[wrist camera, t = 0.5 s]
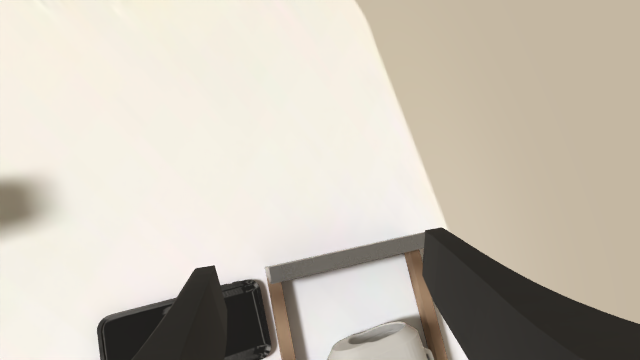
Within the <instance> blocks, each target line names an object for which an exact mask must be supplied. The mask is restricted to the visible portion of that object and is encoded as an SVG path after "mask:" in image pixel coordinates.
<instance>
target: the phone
mask: <svg viewBox="0 0 640 360" xmlns="http://www.w3.org/2000/svg"><path fill="white" fill-rule="evenodd" d="M221 290H222V293H223V297H224V301H225V304H226V308H227V343H226V351H225V358H224V360H261V359H263V358H265V357H266V356H267V355H268V354H269V352H270V350H271V341H270V336H269V331H268V326H267V321H266V316H265V311H264V306H263V301H262V296H261V291H260V287H259V285H258V284H257V283H256V282H255V281H253V280H244V281H240V282H238V281H237V282H233V283H232V284H228V285H227V284H224V285H221ZM175 300H176V298H174V299H170V300H166V301H162V302H158V303H154V304H150V305H146V306H142V307H138V308H135V309H131V310H127V311H123V312H119V313H115V314H111V315H109V316H106V317H105V318H103V319H102V320H101V321H100V323H99V325H98V327H97V334H98V343H99V351H100V359H101V360H132V359H133V357H134V356H135V355H136V354H137V352H138V351H139V350H140V349H141V347H142V346H143V345H144V343H145V342H146V341H147V339H148V338H149V337H150V335H151V334H152V333H153V331H154V330H155V329H156V327H157V326H158V325H159V323H160V322H161V320H162V319H163V318H164V316H165V315H166V313H167V312H168V310H169V309H170V307H171V306H172V304H173V303H174V301H175Z"/></svg>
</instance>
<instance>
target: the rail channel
mask: <svg viewBox="0 0 640 360" xmlns="http://www.w3.org/2000/svg"><path fill="white" fill-rule="evenodd" d="M424 241H425V232H424V233H418V234H413V235H408V236H403V237H399V238H394V239H390V240H385V241H381V242H376V243H372V244H367V245H363V246H358V247H354V248H349V249H345V250H341V251H336V252H332V253H327V254H323V255H318V256H314V257H309V258H305V259H300V260H296V261H291V262H287V263H282V264H278V265H273V266H269V267H265V270H266V276H267V281H268V287H269V292H270V298H271V304H272V309H273V315H274V320H275V326H276V331H277V337H278V342H279V348H280V353H281V359H282V360H296V359H295V354H294V348H293V343H292V338H291V332H290V327H289V322H288V316H287V311H286V306H285V300H284V295H283V290H282V284H281V282H283V281H287V280H292V279H296V278H300V277H304V276H308V275H313V274H317V273H321V272H325V271H330V270H334V269H338V268H342V267H346V266H351V265H355V264H359V263H363V262H367V261H372V260H376V259H380V258H384V257H388V256H393V255H397V254H401V253H404V255H405V259H406V263H407V267H408V271H409V274H410V278H411V282H412V286H413V290H414V294H415V298H416V302H417V306H418V310H419V314H420V318H421V322H422V326H423V330H424V334H425V338H426V342H427V346H428V349H430V350H431V352H432V355H433V357H434V360H448V359H447V355H446V351H445V347H444V343H443V339H442V335H441V332H440V328H439V324H438V320H437V316H436V312H435V309H434V305H433V301H432V297H431V295H430V292H429V290H428V288H427V286H426V283H425V281H424V278H423V276H422V270H423V263H422V259H421V255H420V251H419V249H422V248H424Z"/></svg>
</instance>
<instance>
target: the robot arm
mask: <svg viewBox="0 0 640 360" xmlns="http://www.w3.org/2000/svg"><path fill="white" fill-rule="evenodd" d="M422 276H423V278H424V281H425V283H426V286H427V288H428V290H429V292H430V295H431V297H432V299H433V301H434V303H435V305H436V306H437V308H438V310H439V311H440V313H441V315H442V316H443V318H444V320H445V321H446V323H447V325H448V326H449V328H450V330H451V331H452V333H453V335H454V336H455V338H456V339H457V341H458V343H459V344H460V346H461V348H462V349H463V351H464V353H465V354H466V356H467V358H468V359H469V360H640V324H638V323H634V322H631V321H628V320H625V319H622V318H619V317H616V316H614V315H611V314H608V313H605V312H602V311H600V310H597V309H595V308H592V307H589V306H587V305H584V304H582V303H579V302H577V301H574V300H572V299H570V298H567V297H565V296H563V295H561V294H558V293H556V292H554V291H552V290H550V289H548V288H545V287H543V286H541V285H539V284H537V283H535V282H533V281H531V280H529V279H527V278H525V277H523V276H522V275H520V274H518V273H516V272H514V271H512V270H511V269H509V268H507V267H505V266H504V265H502V264H500V263H498V262H497V261H495V260H493V259H492V258H490V257H488V256H487V255H485V254H483V253H482V252H480V251H479V250H477V249H475V248H474V247H472V246H471V245H469V244H468V243H466V242H464V241H463V240H461V239H460V238H458V237H457V236H455V235H453V234H452V233H450V232H449V231H447V230H445V229H444V228H436V229H430V230H425V241H424V255H423V270H422ZM226 343H227V308H226V304H225V301H224V297H223V293H222V290H221V286H220V283H219V279H218V276H217V272H216V269H215V265H214V266H208V267H202V268H196V269H195V270H194V271H193V273H192V274H191V276H190V277H189V279H188V281H187V282H186V284H185V285H184V287H183V289H182V290H181V292H180V293H179V295H178V297H177V298H176V300H175V301H174V303H173V304H172V306H171V307H170V309H169V310H168V312H167V313H166V315H165V316H164V318H163V319H162V320H161V322H160V323H159V325H158V326H157V327H156V329H155V330H154V331H153V333H152V334H151V335H150V337H149V338H148V339H147V341H146V342H145V343H144V345H143V346H142V347H141V349H140V350H139V351H138V352H137V354H136V355H135V356H134V357H133V359H132V360H224V358H225V351H226Z"/></svg>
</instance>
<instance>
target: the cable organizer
mask: <svg viewBox="0 0 640 360" xmlns="http://www.w3.org/2000/svg"><path fill="white" fill-rule="evenodd" d="M327 360H434V357H433V355H432V352H431V350H430V349H428V348H425V347H423V344H422V342H421V339H420V336H419V333H418V330H417V329H415V328H413V327H412V326H410V325H408V324H406V323H405V322H390V323H386V324H382V325H379V326H377V327H374V328H372V329H369V330H367V331H365V332H362V333H360V334H354V335H351V336H349V337H347V338H344V339H342V340H340V341H339V342H337V343H336V344H335V345H334V346H333V347H332V350H331V352H330V354H329V357H328V359H327Z"/></svg>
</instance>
